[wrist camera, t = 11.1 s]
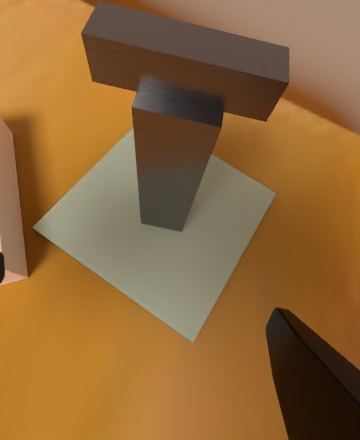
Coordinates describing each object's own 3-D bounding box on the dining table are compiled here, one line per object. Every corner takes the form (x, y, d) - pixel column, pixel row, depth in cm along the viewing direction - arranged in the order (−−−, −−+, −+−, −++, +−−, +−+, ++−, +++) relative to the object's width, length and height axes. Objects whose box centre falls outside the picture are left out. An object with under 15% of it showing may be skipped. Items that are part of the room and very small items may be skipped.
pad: (273, 196, 21) (276, 193, 20) (191, 342, 16) (193, 343, 15) (146, 119, 22) (146, 114, 21) (35, 230, 17) (32, 227, 17)
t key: (201, 236, 18) (289, 100, 7) (120, 219, 18) (72, 49, 7) (207, 200, 19) (289, 33, 8) (131, 183, 19) (105, -12, 8)
